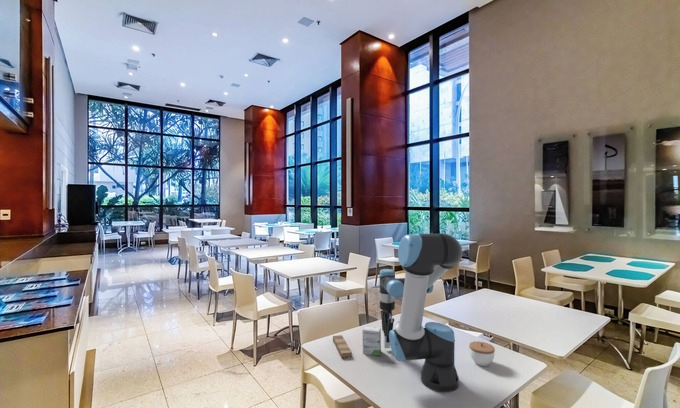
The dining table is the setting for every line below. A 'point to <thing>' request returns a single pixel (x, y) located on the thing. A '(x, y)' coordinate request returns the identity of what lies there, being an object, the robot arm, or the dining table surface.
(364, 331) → the ink box
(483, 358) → the lidded jar
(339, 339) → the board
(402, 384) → the dining table surface
